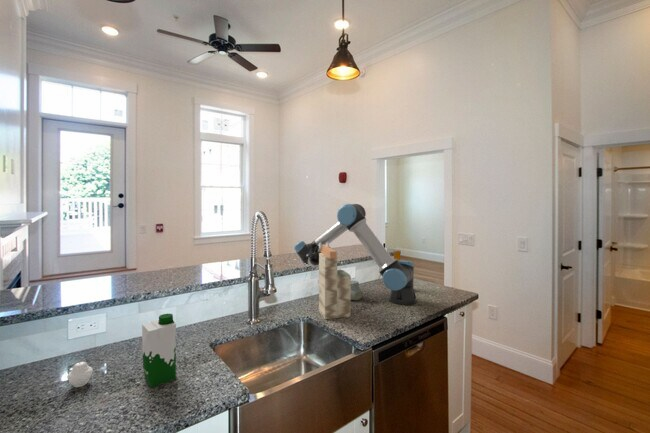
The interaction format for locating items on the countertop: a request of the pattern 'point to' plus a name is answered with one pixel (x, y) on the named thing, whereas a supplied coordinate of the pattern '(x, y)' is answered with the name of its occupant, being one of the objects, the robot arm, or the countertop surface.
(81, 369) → the pale grey lumpy disc
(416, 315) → the countertop surface
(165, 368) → the milk carton
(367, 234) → the robot arm
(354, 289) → the air freshener
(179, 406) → the countertop surface
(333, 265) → the stepped stand
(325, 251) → the orange bar
